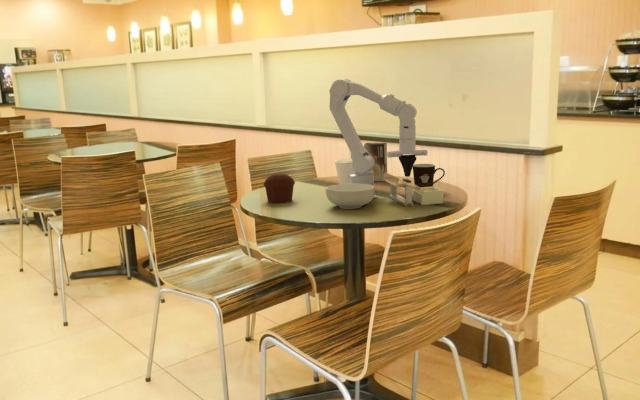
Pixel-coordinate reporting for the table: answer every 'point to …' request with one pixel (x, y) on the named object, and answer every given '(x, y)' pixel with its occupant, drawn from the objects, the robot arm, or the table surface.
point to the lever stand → (404, 201)
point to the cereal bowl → (350, 195)
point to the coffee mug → (425, 174)
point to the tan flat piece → (398, 181)
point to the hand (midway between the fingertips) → (407, 176)
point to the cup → (344, 170)
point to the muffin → (279, 188)
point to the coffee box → (378, 158)
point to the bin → (428, 195)
